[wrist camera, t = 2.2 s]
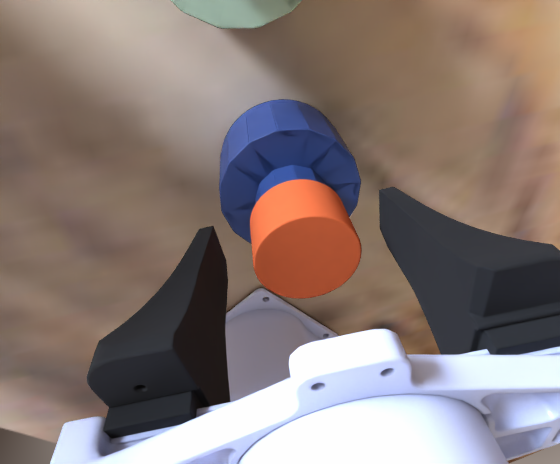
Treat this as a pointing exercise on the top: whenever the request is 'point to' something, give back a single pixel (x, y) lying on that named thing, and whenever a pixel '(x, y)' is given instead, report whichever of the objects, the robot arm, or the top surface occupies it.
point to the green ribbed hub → (237, 11)
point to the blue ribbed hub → (281, 158)
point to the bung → (303, 240)
